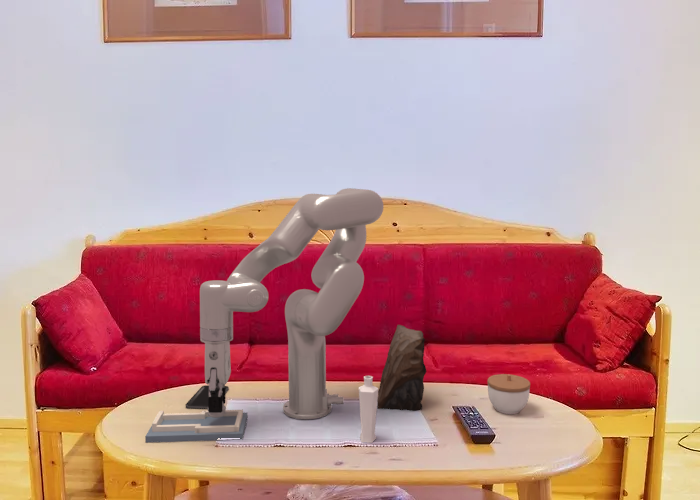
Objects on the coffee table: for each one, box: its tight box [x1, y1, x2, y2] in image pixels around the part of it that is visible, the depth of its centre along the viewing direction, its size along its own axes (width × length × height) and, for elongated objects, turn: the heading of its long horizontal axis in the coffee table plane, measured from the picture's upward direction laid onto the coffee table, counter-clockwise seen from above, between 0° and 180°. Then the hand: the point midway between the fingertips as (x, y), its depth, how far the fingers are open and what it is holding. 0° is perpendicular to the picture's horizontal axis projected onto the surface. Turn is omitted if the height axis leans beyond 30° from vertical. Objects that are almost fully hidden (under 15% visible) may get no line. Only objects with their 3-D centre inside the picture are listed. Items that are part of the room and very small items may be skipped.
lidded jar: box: [487, 373, 531, 415], centre depth 157 cm, size 11×11×9 cm
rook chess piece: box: [207, 381, 227, 418], centre depth 144 cm, size 4×4×8 cm
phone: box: [185, 384, 229, 411], centre depth 165 cm, size 8×1×15 cm
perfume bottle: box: [358, 375, 379, 444], centre depth 139 cm, size 5×4×15 cm
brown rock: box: [377, 324, 427, 412], centre depth 160 cm, size 13×13×20 cm
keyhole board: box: [144, 409, 249, 443], centre depth 145 cm, size 22×12×4 cm, turn 94°
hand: (217, 407), depth 145 cm, fingers closed on rook chess piece, 4 cm apart
